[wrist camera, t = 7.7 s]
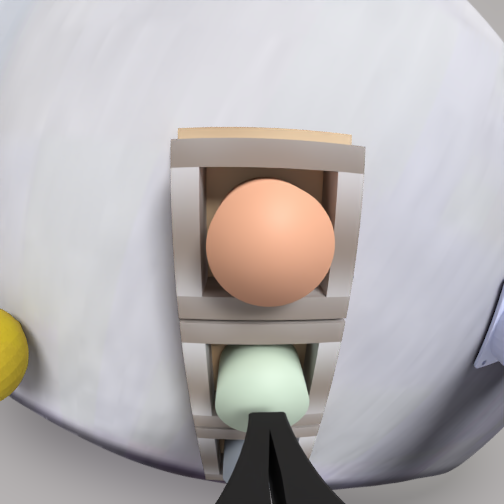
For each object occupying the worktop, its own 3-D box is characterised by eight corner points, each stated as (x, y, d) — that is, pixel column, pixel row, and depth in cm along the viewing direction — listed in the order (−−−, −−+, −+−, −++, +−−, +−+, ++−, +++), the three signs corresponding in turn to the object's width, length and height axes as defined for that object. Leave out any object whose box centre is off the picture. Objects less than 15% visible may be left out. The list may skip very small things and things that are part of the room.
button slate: (289, 422, 16) (294, 460, 13) (282, 454, 17) (287, 488, 14) (223, 423, 15) (221, 462, 13) (225, 455, 17) (224, 489, 14)
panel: (182, 130, 12) (165, 122, 9) (344, 136, 12) (370, 131, 9) (206, 452, 19) (204, 482, 16) (298, 451, 19) (303, 481, 16)
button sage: (303, 331, 13) (315, 372, 11) (294, 390, 15) (302, 431, 12) (217, 331, 13) (212, 373, 10) (220, 391, 15) (217, 433, 12)
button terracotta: (316, 179, 11) (339, 186, 8) (309, 272, 12) (327, 306, 10) (215, 176, 11) (204, 181, 8) (215, 272, 12) (208, 305, 10)
